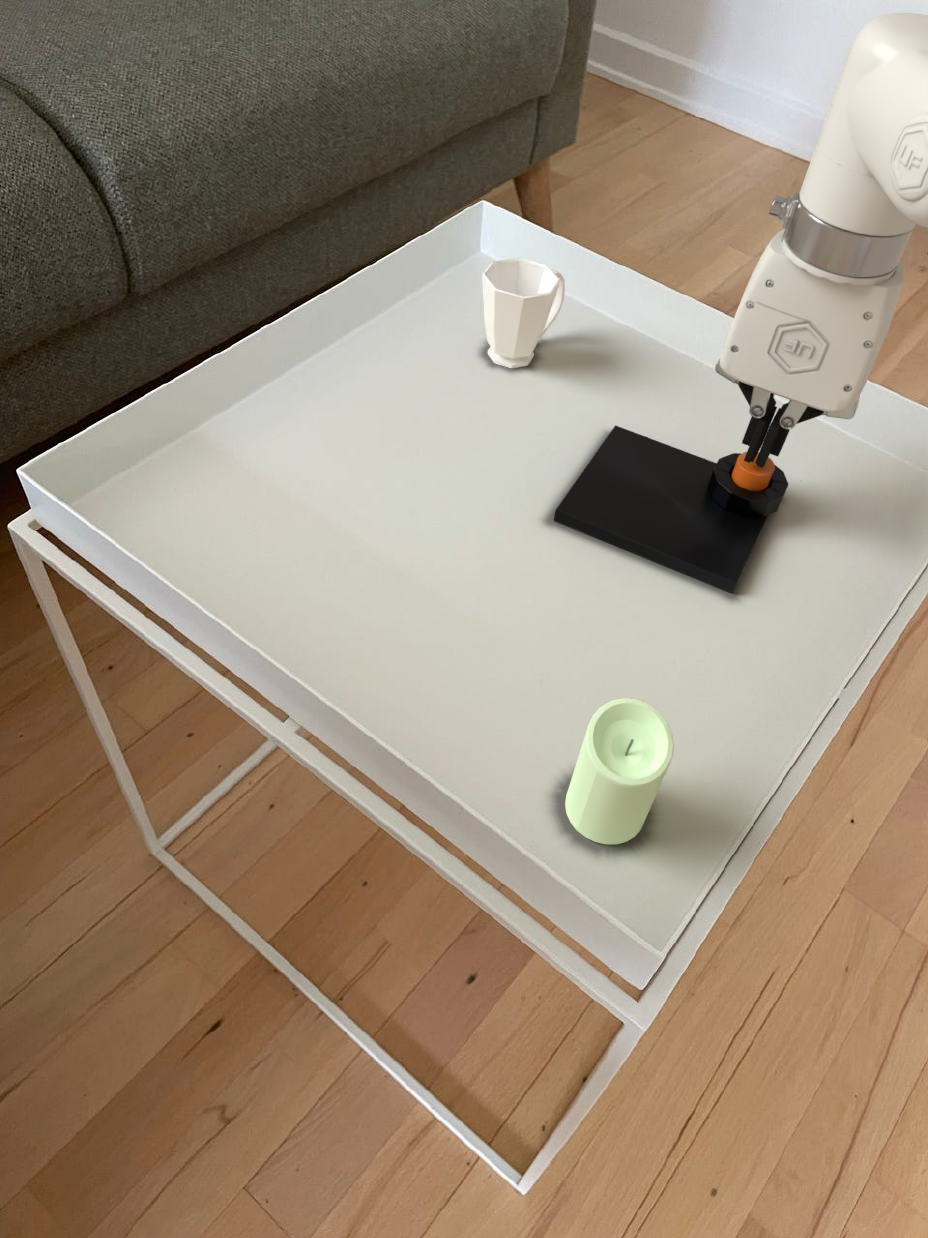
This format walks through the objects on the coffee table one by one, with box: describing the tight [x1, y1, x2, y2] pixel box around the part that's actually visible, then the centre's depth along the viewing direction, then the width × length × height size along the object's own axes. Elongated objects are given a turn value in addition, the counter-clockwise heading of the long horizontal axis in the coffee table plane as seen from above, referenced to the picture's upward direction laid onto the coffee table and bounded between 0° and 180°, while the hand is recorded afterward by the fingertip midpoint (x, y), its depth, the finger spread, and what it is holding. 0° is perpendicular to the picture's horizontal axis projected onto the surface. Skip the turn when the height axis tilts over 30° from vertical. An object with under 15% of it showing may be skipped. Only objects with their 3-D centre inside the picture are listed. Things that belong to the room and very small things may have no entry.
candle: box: [564, 697, 675, 845], centre depth 58 cm, size 5×5×8 cm
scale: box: [553, 424, 789, 594], centre depth 79 cm, size 16×13×3 cm
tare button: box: [732, 451, 776, 491], centre depth 79 cm, size 3×3×2 cm
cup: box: [481, 257, 566, 369], centre depth 91 cm, size 7×10×8 cm
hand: (758, 454), depth 78 cm, fingers closed
